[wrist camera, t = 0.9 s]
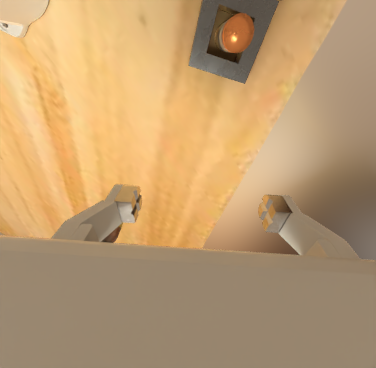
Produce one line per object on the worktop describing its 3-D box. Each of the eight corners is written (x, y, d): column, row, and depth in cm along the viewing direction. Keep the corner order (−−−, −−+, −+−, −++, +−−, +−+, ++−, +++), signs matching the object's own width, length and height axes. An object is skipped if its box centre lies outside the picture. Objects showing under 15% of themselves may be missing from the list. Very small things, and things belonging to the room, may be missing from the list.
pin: (211, 47, 31) (219, 47, 23) (219, 18, 29) (230, 7, 21) (231, 54, 32) (245, 57, 24) (241, 26, 29) (259, 19, 22)
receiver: (188, 64, 33) (188, 65, 30) (206, -21, 26) (208, -29, 23) (240, 80, 34) (244, 83, 32) (270, 5, 28) (279, 1, 25)
